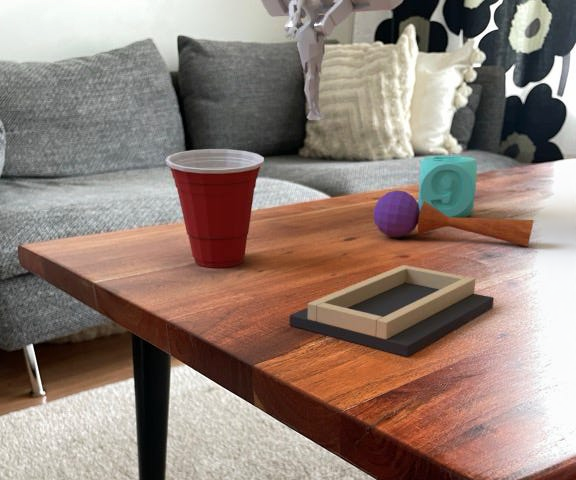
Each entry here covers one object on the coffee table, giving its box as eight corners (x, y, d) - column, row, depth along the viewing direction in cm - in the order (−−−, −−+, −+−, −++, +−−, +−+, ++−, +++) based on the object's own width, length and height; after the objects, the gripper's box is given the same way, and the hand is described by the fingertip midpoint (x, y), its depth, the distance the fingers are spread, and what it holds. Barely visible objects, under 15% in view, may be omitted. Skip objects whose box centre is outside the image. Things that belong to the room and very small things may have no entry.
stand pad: (492, 307, 68) (496, 282, 67) (407, 357, 57) (409, 327, 56) (384, 284, 75) (386, 261, 74) (289, 325, 64) (289, 298, 63)
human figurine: (310, 122, 86) (301, -51, 79) (281, 124, 87) (270, -47, 80) (342, 116, 96) (337, -39, 89) (315, 117, 98) (308, -35, 91)
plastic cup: (175, 277, 78) (167, 162, 73) (169, 253, 88) (162, 150, 83) (274, 271, 80) (272, 159, 75) (257, 248, 90) (255, 147, 85)
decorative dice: (469, 209, 112) (474, 156, 109) (472, 219, 105) (478, 163, 102) (417, 207, 114) (421, 155, 110) (417, 217, 107) (421, 161, 103)
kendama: (534, 219, 86) (370, 197, 91) (523, 265, 89) (367, 241, 94) (537, 202, 90) (381, 181, 95) (527, 245, 94) (377, 223, 99)
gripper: (278, -67, 94) (230, 15, 91) (416, -87, 82) (366, 6, 79) (299, -25, 99) (254, 54, 96) (432, -38, 87) (386, 51, 84)
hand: (306, 32), depth 87 cm, fingers closed on human figurine, 3 cm apart
